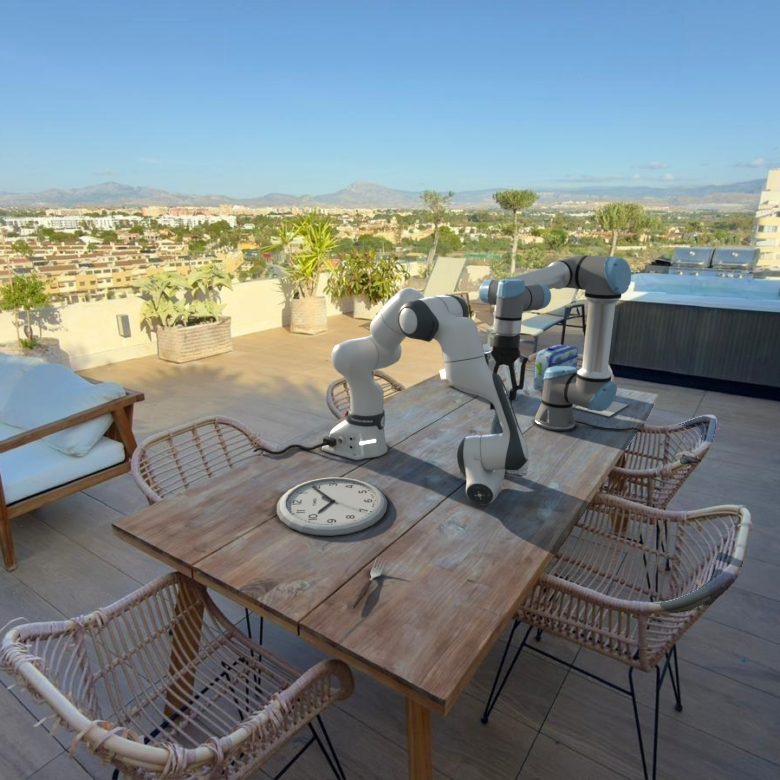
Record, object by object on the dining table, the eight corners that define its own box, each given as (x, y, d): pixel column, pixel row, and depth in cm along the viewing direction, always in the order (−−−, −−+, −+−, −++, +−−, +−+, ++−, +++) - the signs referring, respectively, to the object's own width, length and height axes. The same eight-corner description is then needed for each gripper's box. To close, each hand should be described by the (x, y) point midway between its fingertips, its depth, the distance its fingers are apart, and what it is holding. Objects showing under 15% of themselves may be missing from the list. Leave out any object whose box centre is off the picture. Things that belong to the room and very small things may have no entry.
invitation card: (608, 416, 214) (573, 407, 224) (608, 416, 214) (573, 408, 224) (628, 404, 229) (594, 396, 238) (628, 405, 229) (594, 397, 238)
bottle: (503, 468, 166) (509, 403, 160) (502, 475, 162) (508, 408, 155) (488, 466, 167) (493, 402, 161) (487, 473, 163) (492, 407, 156)
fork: (347, 608, 104) (347, 600, 103) (376, 563, 118) (376, 555, 118) (359, 612, 103) (359, 603, 103) (387, 565, 118) (387, 558, 117)
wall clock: (392, 527, 129) (268, 531, 127) (391, 533, 130) (269, 537, 127) (383, 473, 158) (282, 475, 155) (383, 478, 158) (282, 480, 156)
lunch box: (550, 397, 237) (555, 352, 231) (529, 391, 245) (533, 348, 238) (577, 386, 255) (582, 344, 249) (556, 381, 262) (561, 340, 256)
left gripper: (527, 466, 147) (532, 447, 159) (456, 454, 153) (466, 437, 166) (525, 486, 149) (530, 466, 161) (455, 474, 155) (465, 456, 168)
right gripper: (539, 333, 152) (531, 408, 159) (478, 329, 158) (473, 402, 164) (537, 338, 146) (529, 416, 153) (474, 333, 151) (469, 409, 158)
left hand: (497, 451), depth 164 cm, fingers closed on bottle, 5 cm apart
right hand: (500, 409), depth 158 cm, fingers closed on cap, 5 cm apart
